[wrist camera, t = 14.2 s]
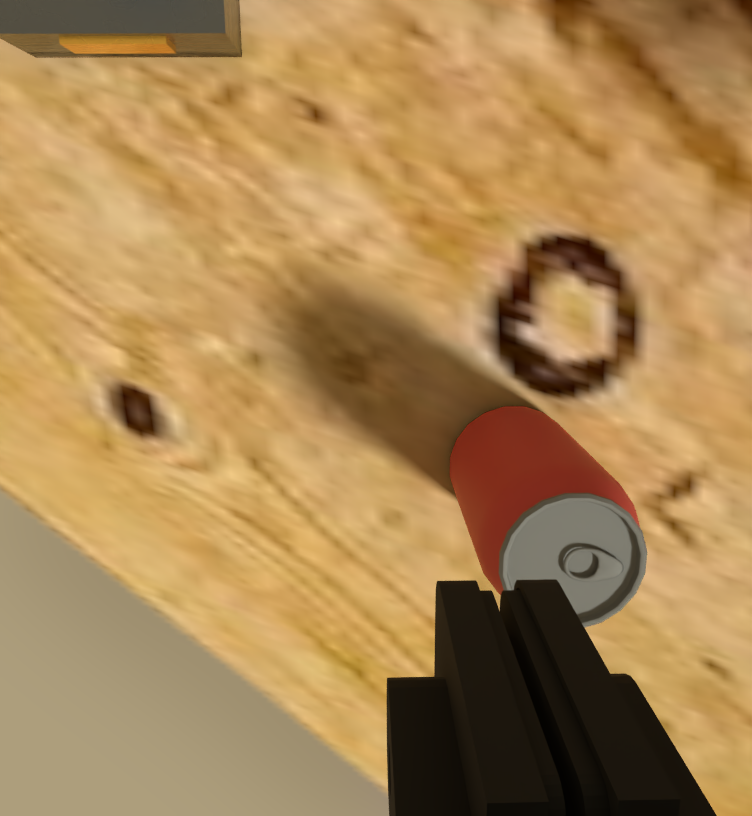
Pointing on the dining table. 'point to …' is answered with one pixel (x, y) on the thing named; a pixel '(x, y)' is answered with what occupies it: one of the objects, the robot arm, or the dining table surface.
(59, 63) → the dining table surface
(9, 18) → the rack
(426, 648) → the dining table surface
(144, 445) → the dining table surface
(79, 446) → the dining table surface
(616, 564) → the beer can
